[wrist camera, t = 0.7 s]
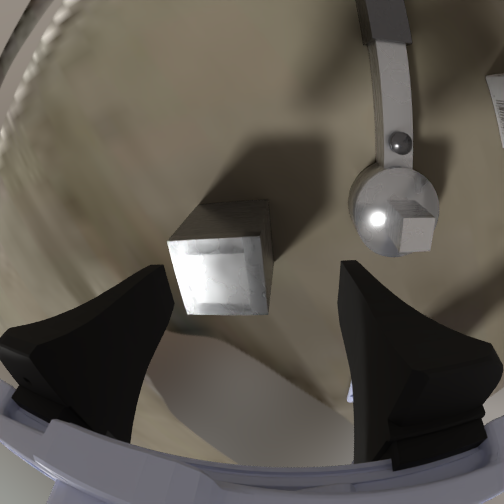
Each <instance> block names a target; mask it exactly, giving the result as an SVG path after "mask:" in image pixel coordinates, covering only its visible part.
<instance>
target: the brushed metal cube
mask: <svg viewBox="0 0 504 504" xmlns="http://www.w3.org/2000/svg"><path fill="white" fill-rule="evenodd" d="M167 243H168V247H169V251H170V255H171V259H172V263H173V266H174V270H175V274H176V277H177V281H178V284H179V288H180V291H181V295H182V298H183V302H184V305H185V308H186V312H187V314H199V315H268V312H269V303H270V294H271V285H272V275H273V266H274V259H273V247H272V236H271V224H270V213H269V203H268V199H266V200H250V201H236V202H224V203H212V204H200V205H198V206H197V207H196V208H195V209H194V210H193V211H192V213H191V214H190V215H189V216H188V217H187V218H186V219H185V221H184V222H183V223H182V224H181V225H180V227H179V228H178V229H177V230H176V231H175V232H174V234H173V235H172V236H171V237H170V238H169V240H168V241H167Z"/></svg>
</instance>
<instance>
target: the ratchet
mask: <svg viewBox="0 0 504 504" xmlns="http://www.w3.org/2000/svg"><path fill="white" fill-rule="evenodd" d="M355 1H356V6H357V11H358V16H359V22H360V27H361V33H362V39H363V45H366V46H368V51H369V59H370V67H371V76H372V86H373V98H374V113H375V135H376V163H374V164H372V165H370V166H368V167H367V168H366V169H364V170H363V171H362V172H361V173H360V174H359V175H358V176H357V178H356V179H355V181H354V182H353V184H352V186H351V189H350V192H349V197H348V209H349V214H350V217H351V220H352V222H353V224H354V226H355V228H356V230H357V232H358V234H359V236H360V238H361V239H362V241H363V242H364V244H365V245H366V246H367V247H368V248H369V249H371V250H372V251H374V252H375V253H377V254H379V255H383V256H387V257H400V256H404V255H407V254H410V253H412V252H418V251H430V249H431V243H432V237H433V231H434V229H435V227H436V225H437V221H438V217H439V201H438V196H437V193H436V191H435V189H434V187H433V185H432V184H431V183H430V181H429V180H428V179H427V178H426V177H425V176H423V175H422V174H420V173H419V172H417V171H415V170H413V169H412V167H413V119H412V99H411V85H410V75H409V66H408V58H407V51H406V46H408V45H410V44H412V39H411V33H410V28H409V23H408V18H407V13H406V8H405V4H404V0H355Z"/></svg>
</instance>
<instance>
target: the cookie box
mask: <svg viewBox="0 0 504 504" xmlns="http://www.w3.org/2000/svg"><path fill="white" fill-rule="evenodd" d="M486 81H487V84H488V87H489V90H490V94H491V97H492V101H493V105H494V109H495V113H496V117H497V122H498V126H499V131H500V136H501V142H502V147H503V149H504V73H501V74H493V75H487V76H486Z"/></svg>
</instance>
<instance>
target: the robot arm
mask: <svg viewBox="0 0 504 504" xmlns="http://www.w3.org/2000/svg"><path fill="white" fill-rule="evenodd" d="M174 304H175V303H174V300H173V297H172V293H171V290H170V286H169V283H168V279H167V276H166V272H165V268H164V265H150V266H147V267H145V268H143V269H142V270H140V271H138V272H136V273H135V274H133V275H132V276H130V277H128V278H127V279H125V280H124V281H122V282H120V283H119V284H117V285H116V286H114V287H112V288H111V289H109V290H107V291H106V292H104V293H102V294H101V295H99V296H97V297H96V298H94V299H92V300H90V301H88V302H86V303H84V304H82V305H80V306H78V307H76V308H74V309H72V310H69V311H67V312H64V313H62V314H59V315H57V316H54V317H51V318H48V319H45V320H42V321H39V322H35V323H31V324H27V325H22V326H17V327H12V328H9V329H8V330H7V331H6V332H5V333H4V334H3V335H2V336H1V337H0V360H1V362H2V363H3V365H4V366H5V367H6V369H7V370H8V371H9V372H10V374H11V375H12V377H13V378H14V379H15V380H16V382H17V383H18V384H19V386H18V388H17V389H15V388H14V387H13V386H11V385H10V384H8V383H6V382H5V381H3V380H1V379H0V442H1V443H2V444H3V445H5V446H6V447H7V448H8V449H9V450H11V451H12V452H13V453H14V454H16V455H17V456H18V457H20V458H21V459H22V460H24V461H25V462H27V463H28V464H30V465H31V466H32V467H34V468H35V469H37V470H38V471H40V472H41V473H43V474H44V475H46V476H47V477H49V478H51V479H52V480H54V481H55V484H54V487H53V489H52V491H51V493H50V496H49V498H48V501H47V503H46V504H482V503H484V502H486V501H488V500H490V499H492V498H494V497H496V496H497V495H499V494H501V493H503V492H504V415H503V416H501V417H499V418H496V419H494V420H492V421H490V422H489V423H487V424H486V425H485V426H484V425H483V422H482V419H481V418H483V417H484V415H485V410H484V408H483V403H484V402H485V401H486V400H487V398H488V397H489V396H490V394H491V393H492V392H493V390H494V389H495V388H496V386H497V384H498V383H499V381H500V379H501V376H502V373H503V364H502V362H501V361H500V359H499V357H498V355H497V353H496V351H495V349H494V348H493V346H492V344H491V343H488V342H485V341H481V340H478V339H475V338H472V337H469V336H466V335H464V334H461V333H459V332H457V331H454V330H452V329H450V328H447V327H445V326H443V325H441V324H439V323H437V322H436V321H434V320H432V319H430V318H428V317H426V316H425V315H423V314H421V313H420V312H418V311H417V310H415V309H414V308H412V307H411V306H409V305H408V304H406V303H405V302H403V301H402V300H401V299H399V298H398V297H397V296H396V295H394V294H393V293H392V292H391V291H389V290H388V289H387V288H386V287H385V286H384V285H382V284H381V283H380V282H379V281H378V280H377V279H376V278H375V277H374V276H373V275H372V274H370V273H369V272H368V271H367V270H366V269H365V268H364V267H363V266H362V265H361V264H360V263H359V262H358V261H356V260H348V261H341V266H340V280H339V292H338V303H337V304H338V313H339V322H340V327H341V332H342V336H343V340H344V345H345V349H346V353H347V358H348V362H349V367H350V372H351V379H352V380H351V384H350V388H349V392H348V396H347V401H348V402H353V407H354V460H353V462H352V464H350V465H339V466H325V467H293V468H292V467H261V466H246V465H235V464H226V463H218V462H211V461H204V460H198V459H192V458H187V457H181V456H176V455H172V454H167V453H163V452H159V451H154V450H151V449H147V448H143V447H139V446H136V445H132V444H130V441H131V433H132V426H133V421H134V416H135V411H136V406H137V402H138V398H139V394H140V390H141V387H142V383H143V380H144V377H145V374H146V371H147V368H148V366H149V363H150V361H151V359H152V357H153V355H154V352H155V350H156V348H157V346H158V344H159V342H160V340H161V338H162V336H163V334H164V332H165V330H166V327H167V325H168V323H169V320H170V317H171V314H172V311H173V307H174Z"/></svg>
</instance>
